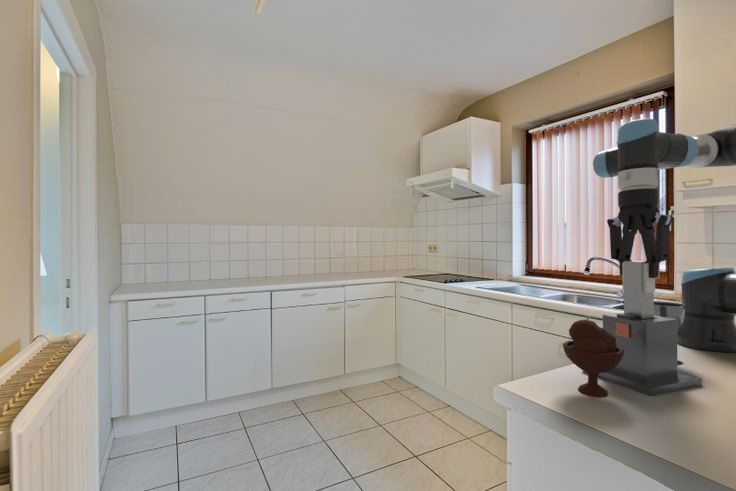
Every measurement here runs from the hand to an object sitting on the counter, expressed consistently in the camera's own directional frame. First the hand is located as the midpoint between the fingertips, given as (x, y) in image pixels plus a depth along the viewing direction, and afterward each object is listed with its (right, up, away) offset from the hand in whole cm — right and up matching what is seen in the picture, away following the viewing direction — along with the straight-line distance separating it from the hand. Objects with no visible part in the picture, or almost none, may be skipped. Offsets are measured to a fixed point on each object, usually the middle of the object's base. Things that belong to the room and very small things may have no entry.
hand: (638, 291), depth 87 cm
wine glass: (+16, -20, +12) cm, 28 cm away
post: (0, -14, 0) cm, 14 cm away
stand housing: (0, -20, 0) cm, 20 cm away
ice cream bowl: (-15, -20, -8) cm, 26 cm away
